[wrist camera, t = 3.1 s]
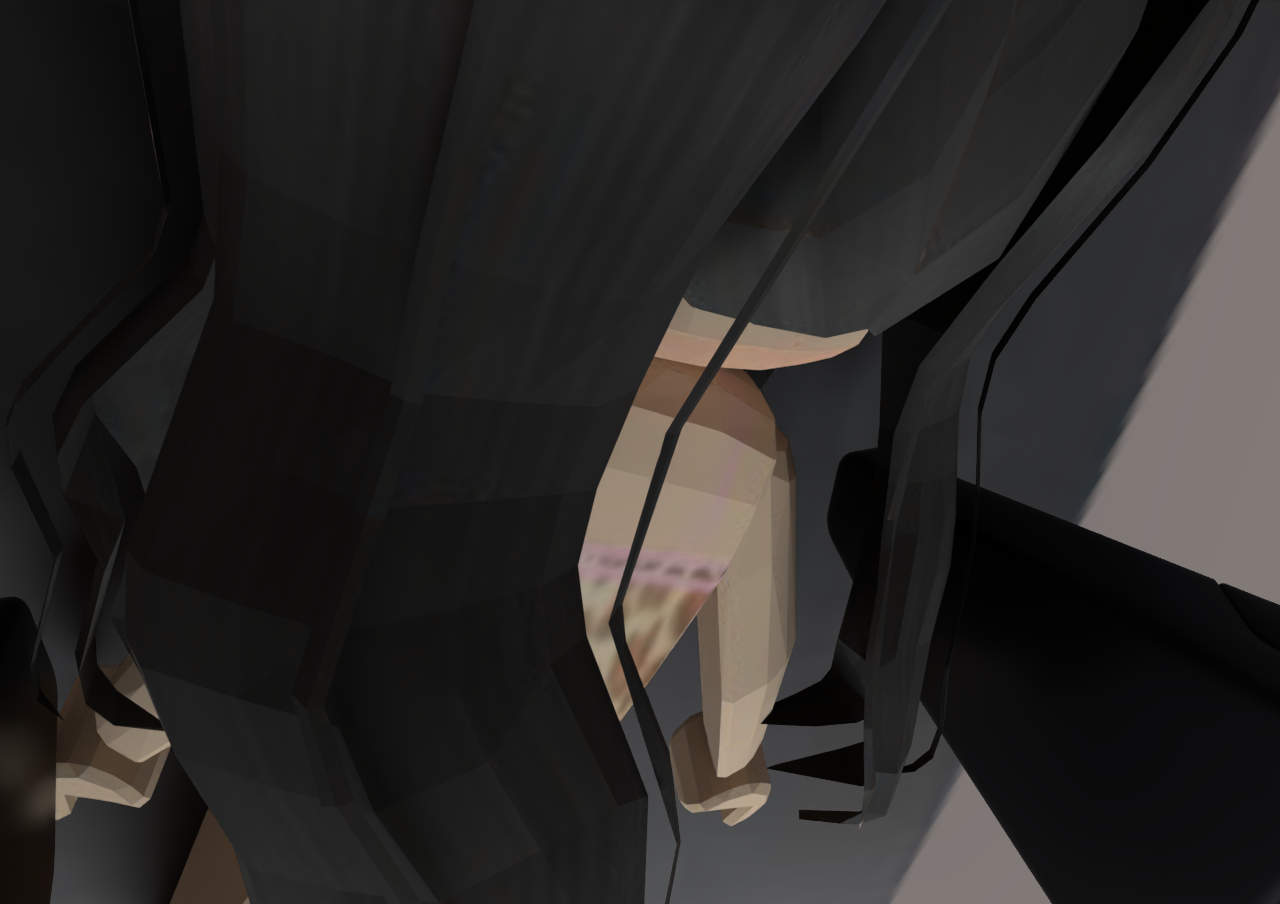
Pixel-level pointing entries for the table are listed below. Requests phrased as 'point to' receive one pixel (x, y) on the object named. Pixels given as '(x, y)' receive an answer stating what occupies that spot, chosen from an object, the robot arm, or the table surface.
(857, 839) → the table surface
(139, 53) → the toy figure
